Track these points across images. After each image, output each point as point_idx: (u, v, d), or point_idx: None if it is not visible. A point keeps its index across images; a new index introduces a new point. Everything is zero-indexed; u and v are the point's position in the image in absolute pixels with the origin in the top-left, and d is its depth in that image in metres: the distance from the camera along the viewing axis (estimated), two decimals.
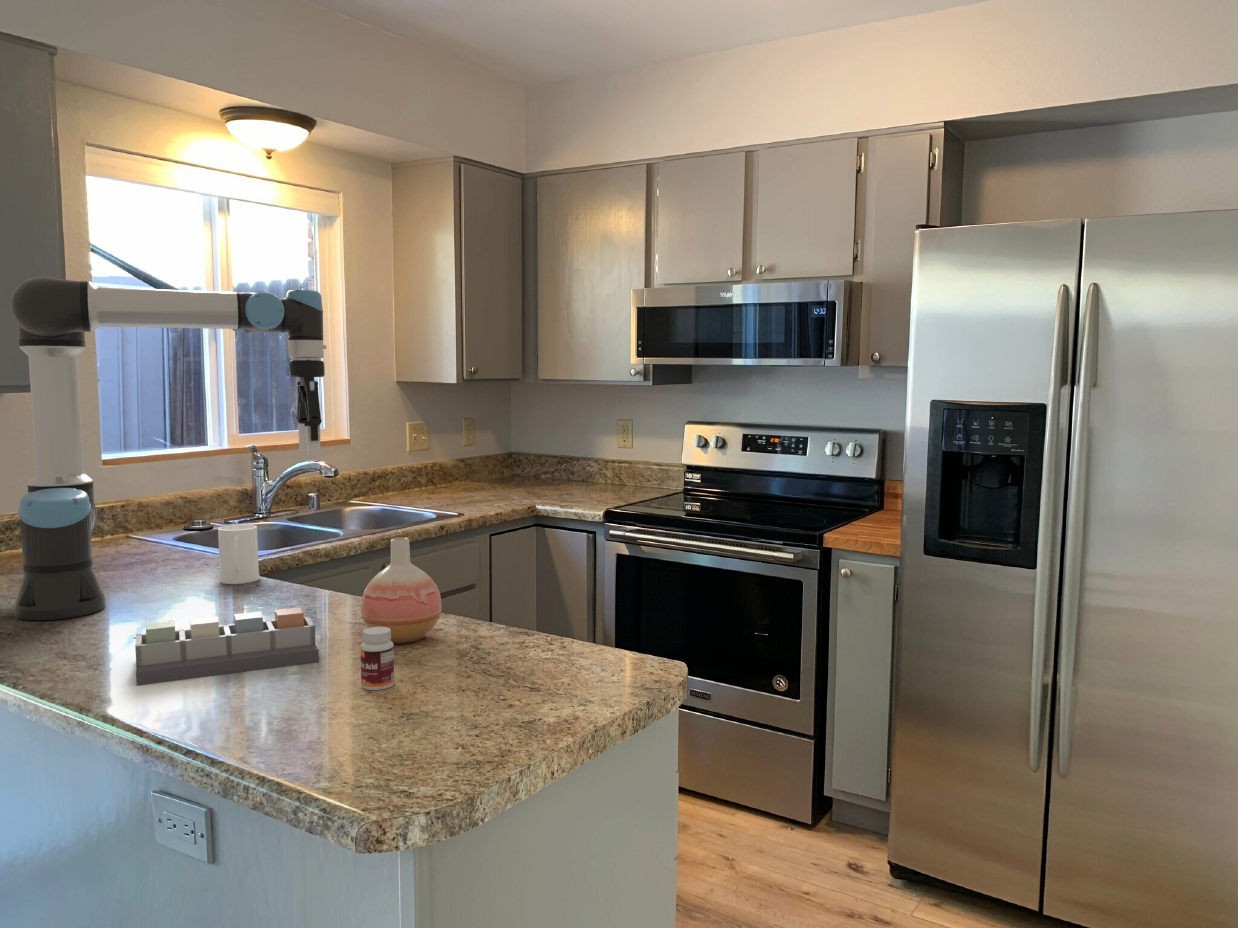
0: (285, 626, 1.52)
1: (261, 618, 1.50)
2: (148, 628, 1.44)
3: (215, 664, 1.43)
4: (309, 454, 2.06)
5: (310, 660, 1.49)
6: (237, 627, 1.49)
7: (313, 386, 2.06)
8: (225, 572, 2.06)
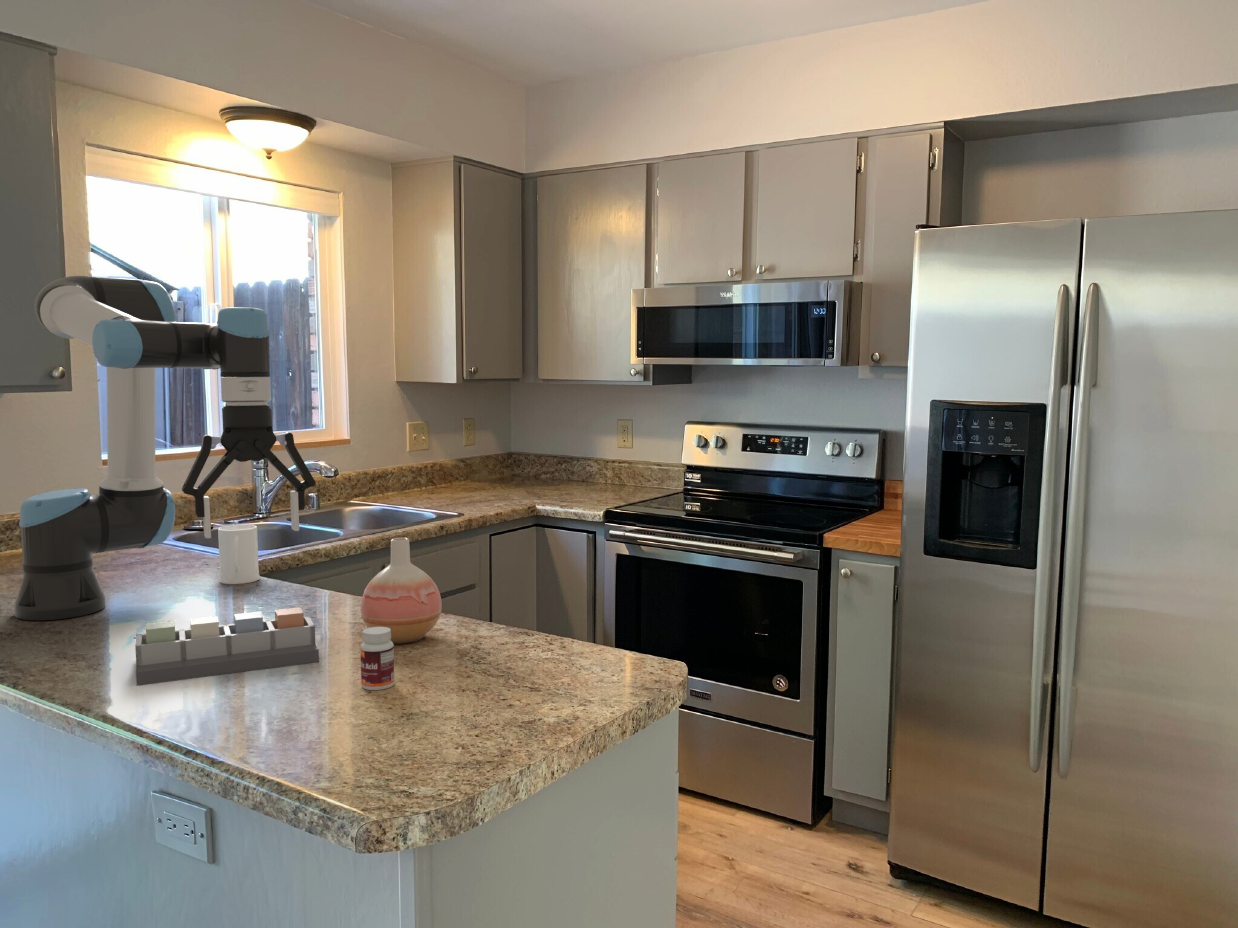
0: (285, 626, 1.52)
1: (261, 618, 1.50)
2: (148, 628, 1.44)
3: (215, 664, 1.43)
4: (204, 534, 1.51)
5: (310, 660, 1.49)
6: (237, 627, 1.49)
7: (202, 442, 1.49)
8: (225, 572, 2.06)
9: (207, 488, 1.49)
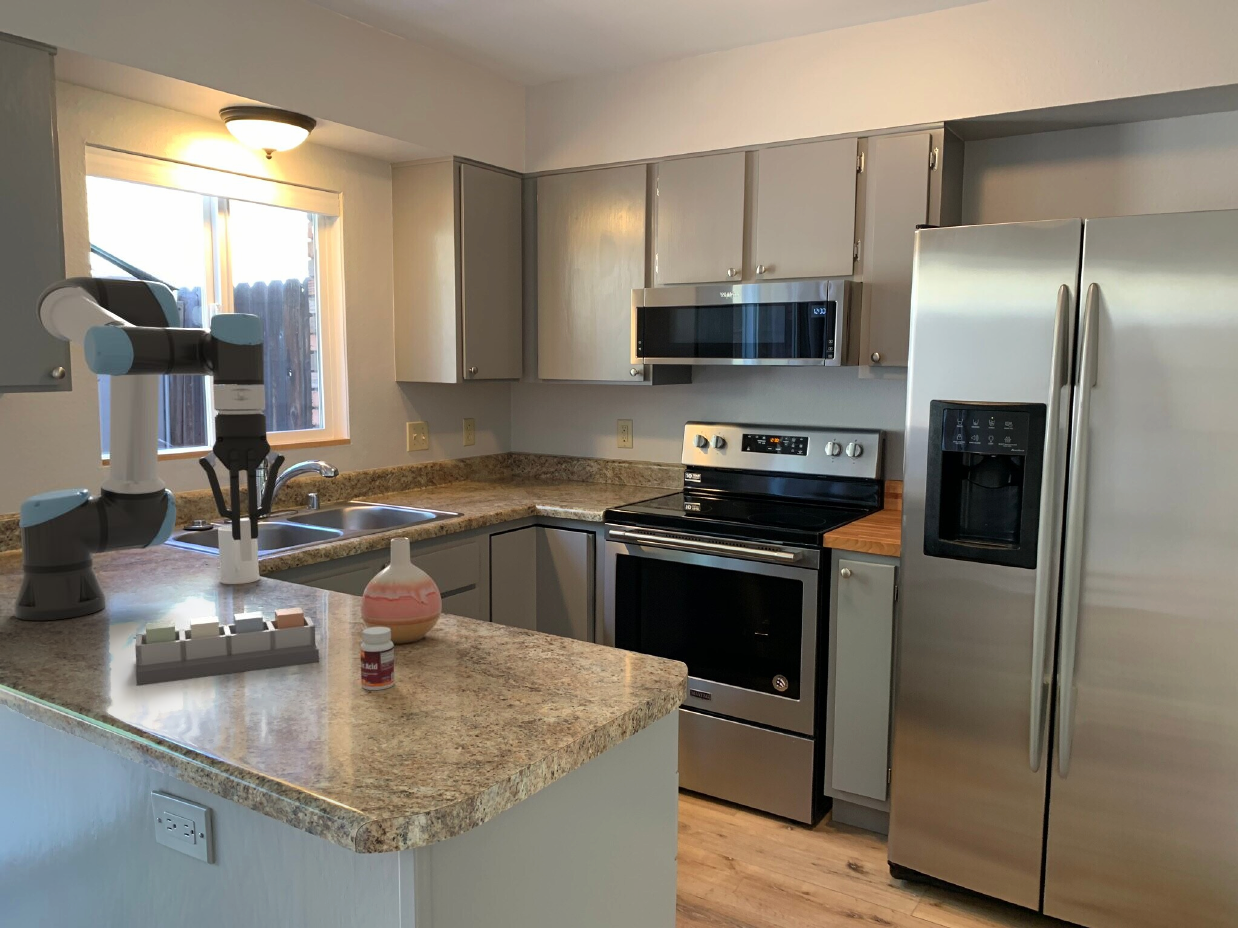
0: (285, 626, 1.52)
1: (261, 618, 1.50)
2: (148, 628, 1.44)
3: (215, 664, 1.43)
4: (240, 556, 1.51)
5: (310, 660, 1.49)
6: (237, 627, 1.49)
7: None
8: (225, 572, 2.06)
9: (238, 508, 1.48)
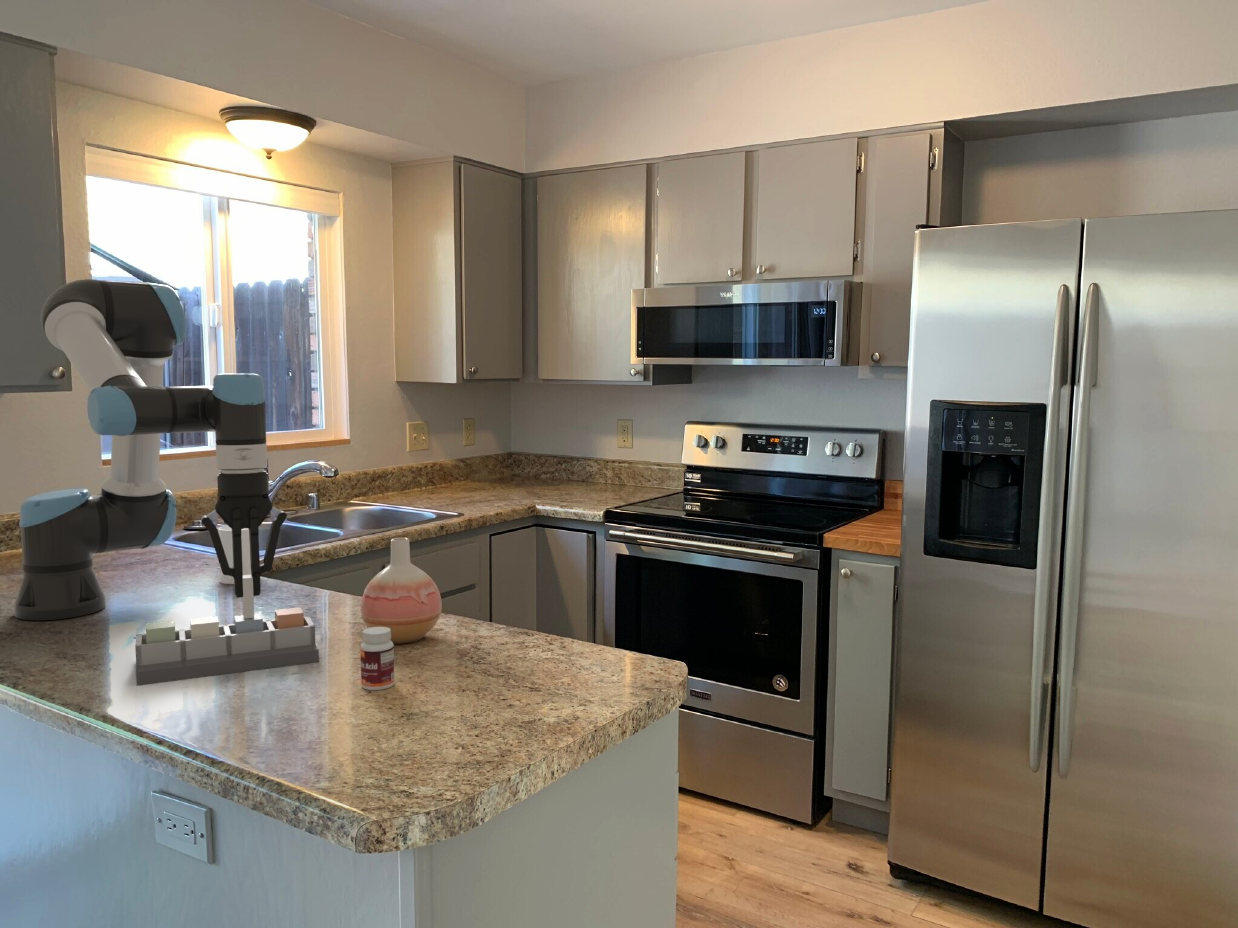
0: (285, 626, 1.52)
1: (261, 620, 1.50)
2: (148, 628, 1.44)
3: (215, 664, 1.43)
4: (243, 613, 1.52)
5: (310, 660, 1.49)
6: (237, 629, 1.49)
7: None
8: None
9: (240, 566, 1.49)
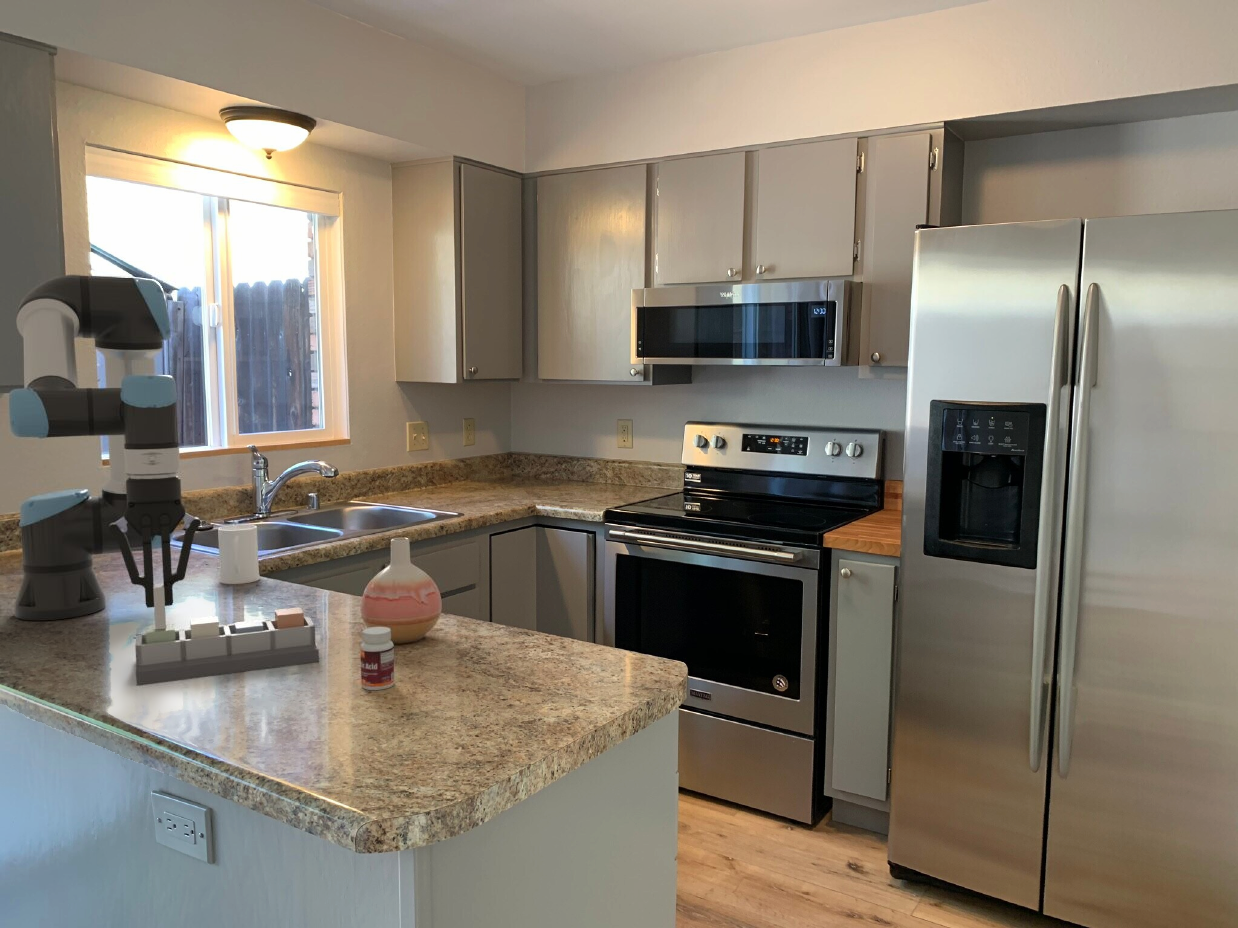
0: (285, 626, 1.52)
1: (261, 626, 1.50)
2: (148, 631, 1.44)
3: (215, 664, 1.43)
4: None
5: (310, 660, 1.49)
6: None
7: None
8: (225, 572, 2.06)
9: (151, 574, 1.43)
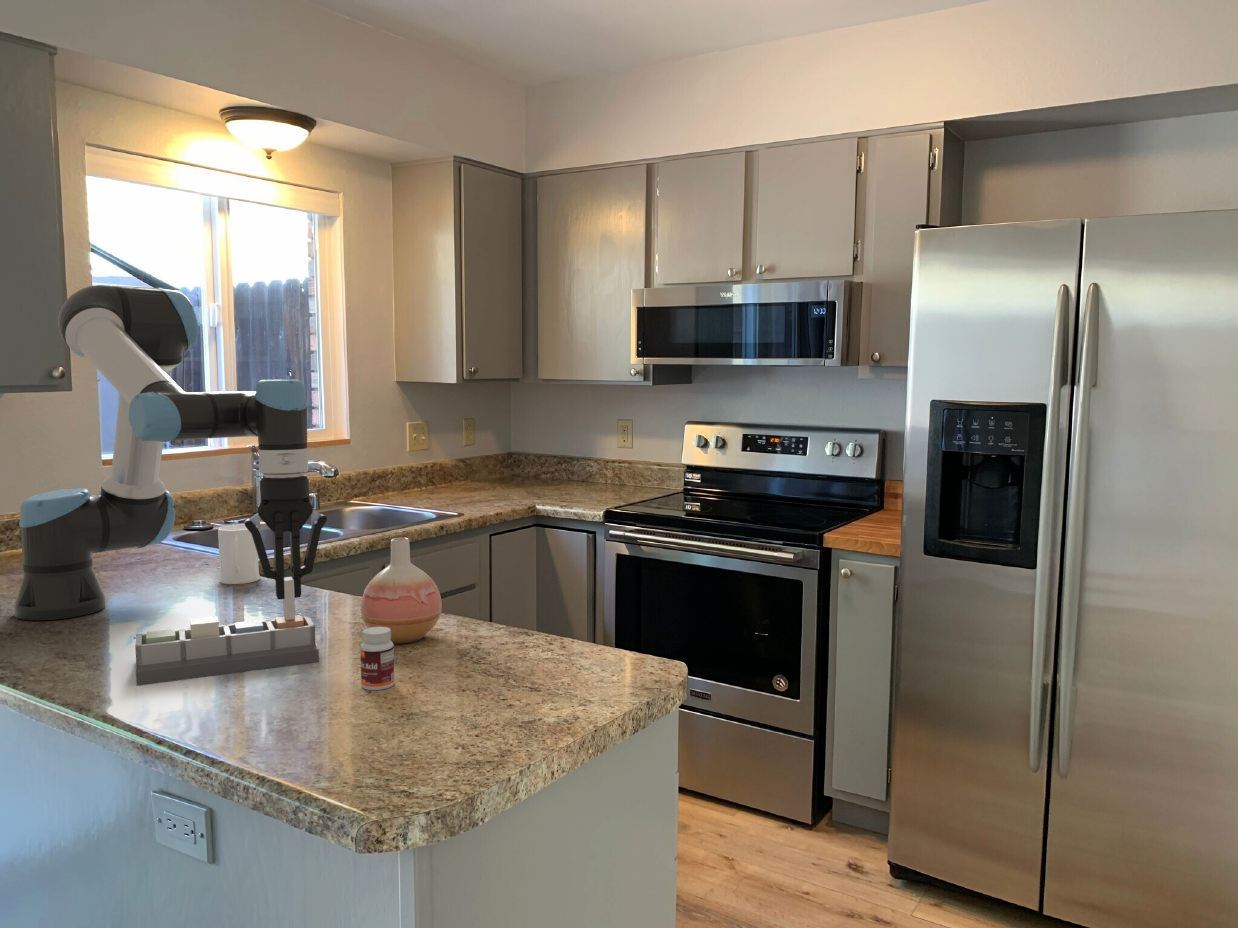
0: None
1: (261, 626, 1.50)
2: (148, 637, 1.44)
3: (215, 664, 1.43)
4: None
5: (310, 660, 1.49)
6: None
7: None
8: (225, 572, 2.06)
9: (282, 568, 1.52)
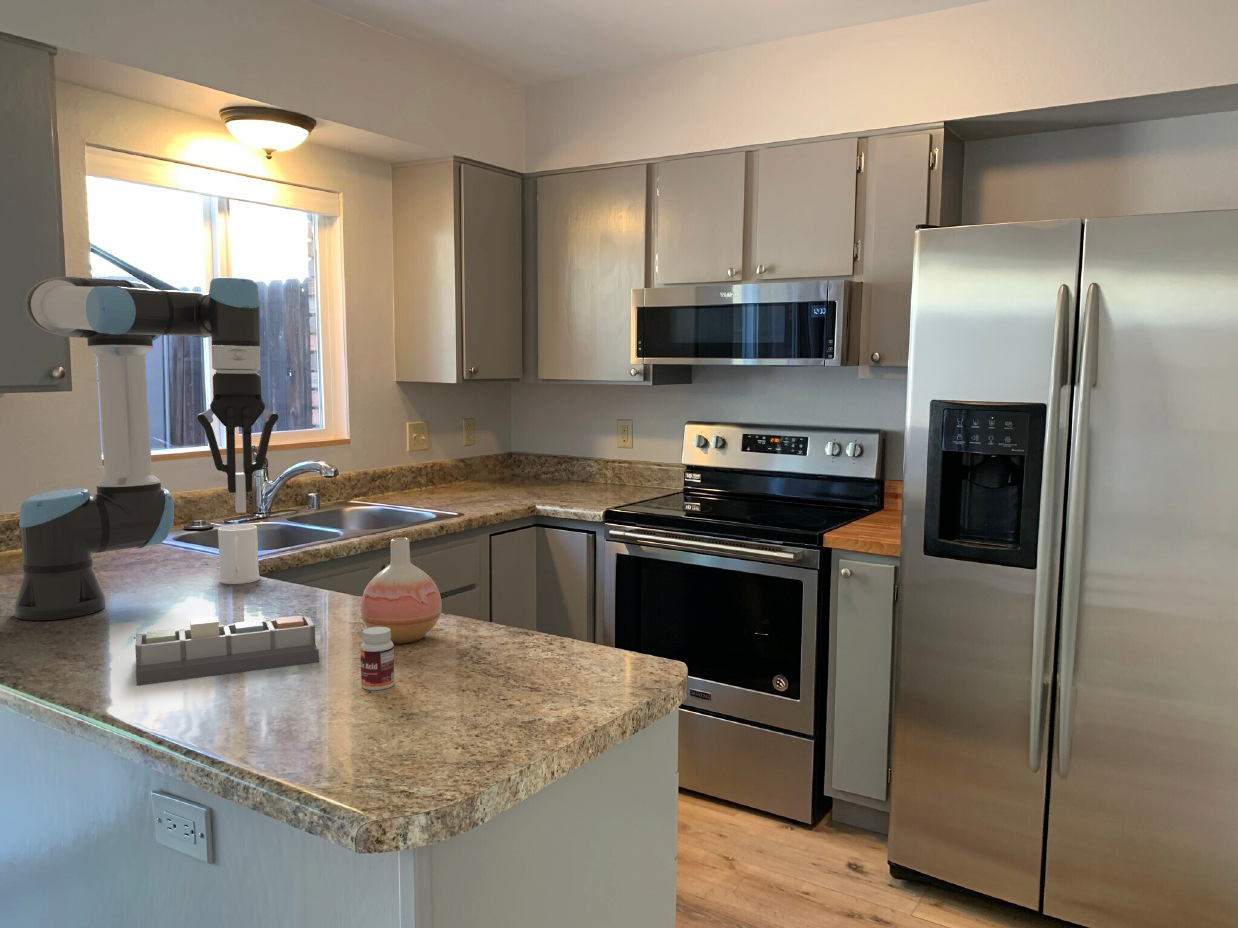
0: None
1: (261, 626, 1.50)
2: (148, 637, 1.44)
3: (215, 664, 1.43)
4: (235, 508, 1.60)
5: (310, 660, 1.49)
6: None
7: None
8: (225, 572, 2.06)
9: (233, 462, 1.57)
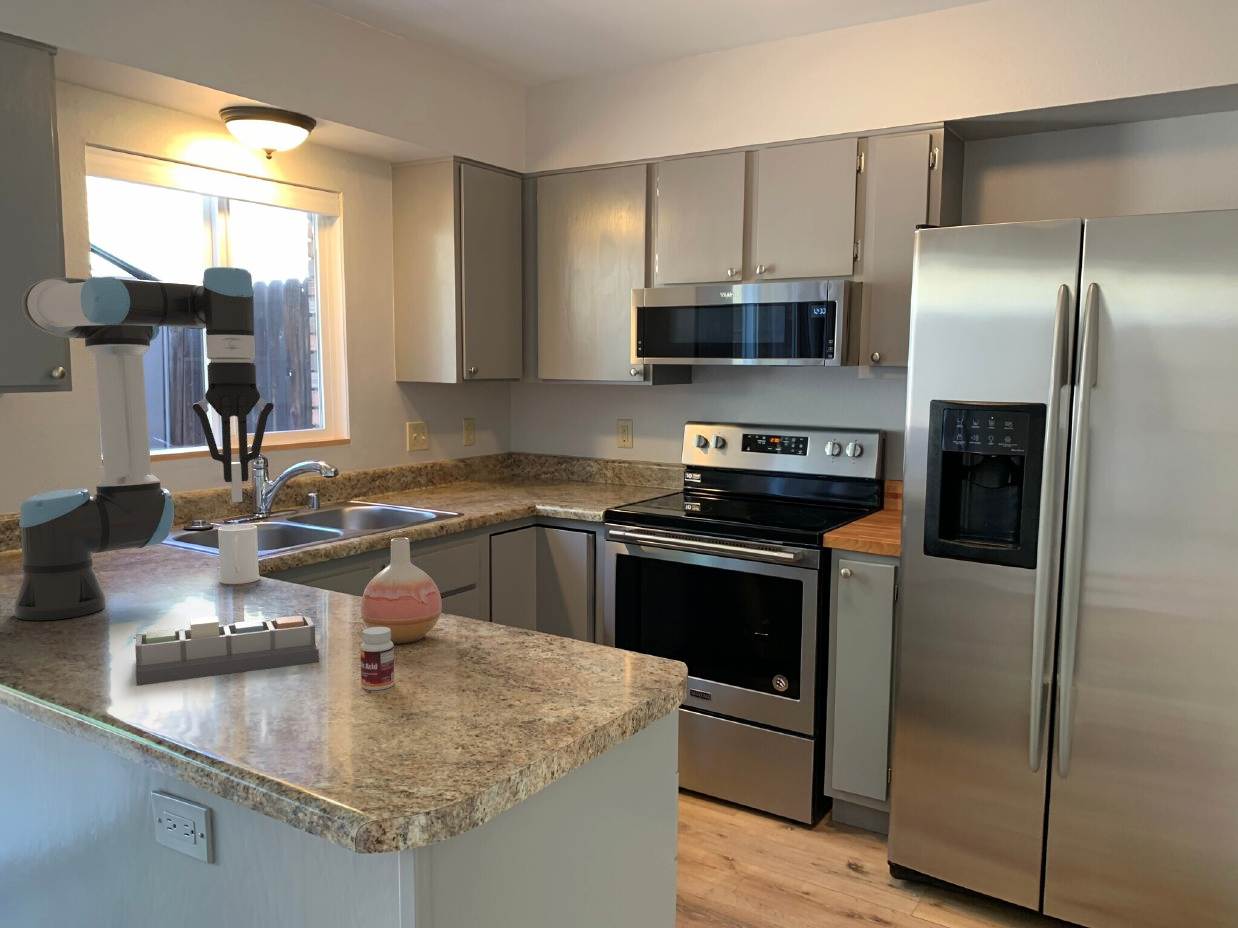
0: None
1: (261, 626, 1.50)
2: (148, 637, 1.44)
3: (215, 664, 1.43)
4: None
5: (310, 660, 1.49)
6: None
7: None
8: (225, 572, 2.06)
9: (229, 451, 1.57)
